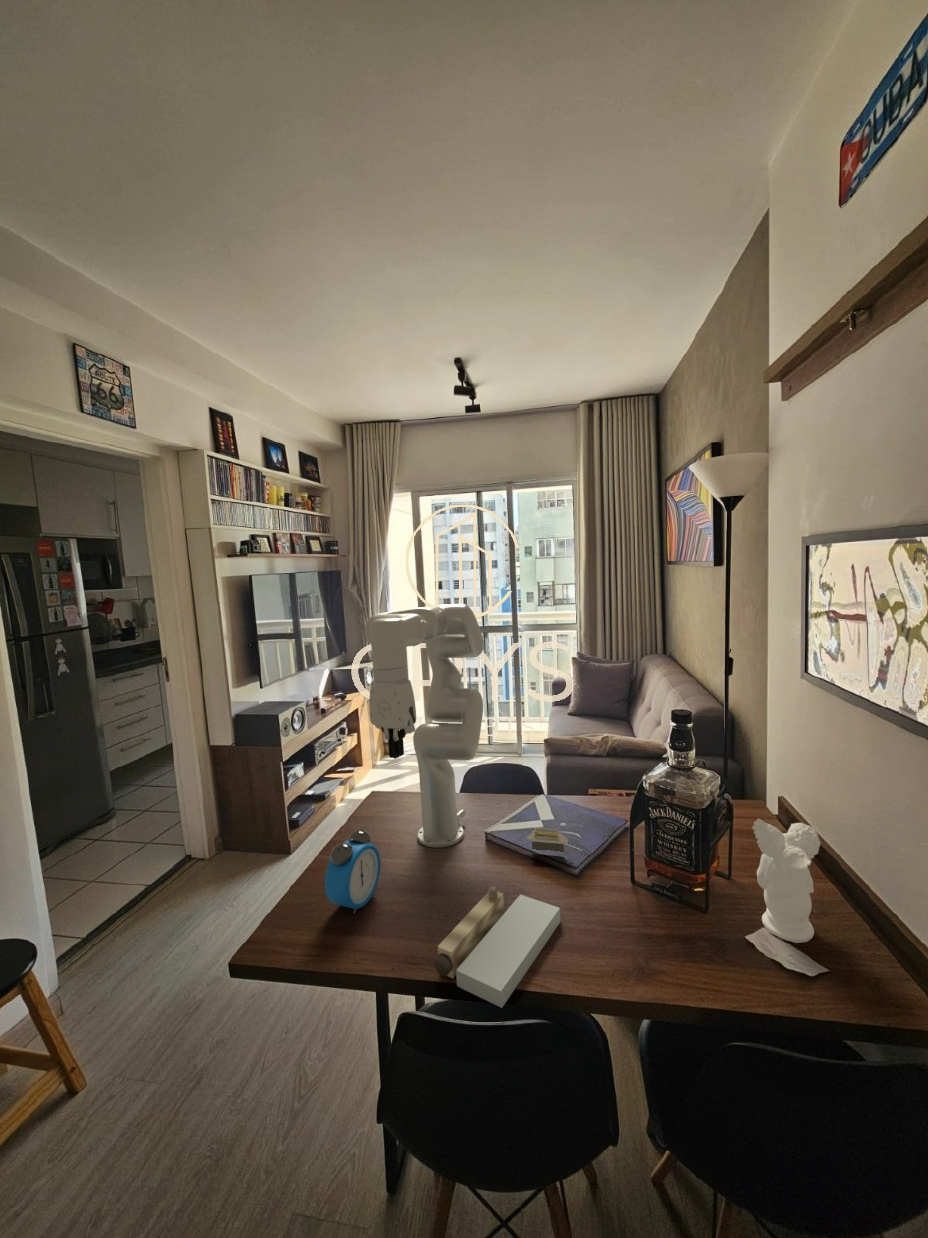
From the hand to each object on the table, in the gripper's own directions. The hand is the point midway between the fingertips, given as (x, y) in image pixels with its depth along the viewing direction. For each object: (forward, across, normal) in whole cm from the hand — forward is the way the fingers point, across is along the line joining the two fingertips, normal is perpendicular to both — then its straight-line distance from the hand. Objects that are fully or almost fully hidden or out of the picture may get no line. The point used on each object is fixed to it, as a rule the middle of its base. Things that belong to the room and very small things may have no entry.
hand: (396, 756), depth 115 cm
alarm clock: (+32, -8, -8) cm, 34 cm away
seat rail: (+32, +30, -4) cm, 44 cm away
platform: (+33, +21, +30) cm, 49 cm away
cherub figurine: (+32, +73, +26) cm, 84 cm away
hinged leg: (+32, +22, -6) cm, 39 cm away
